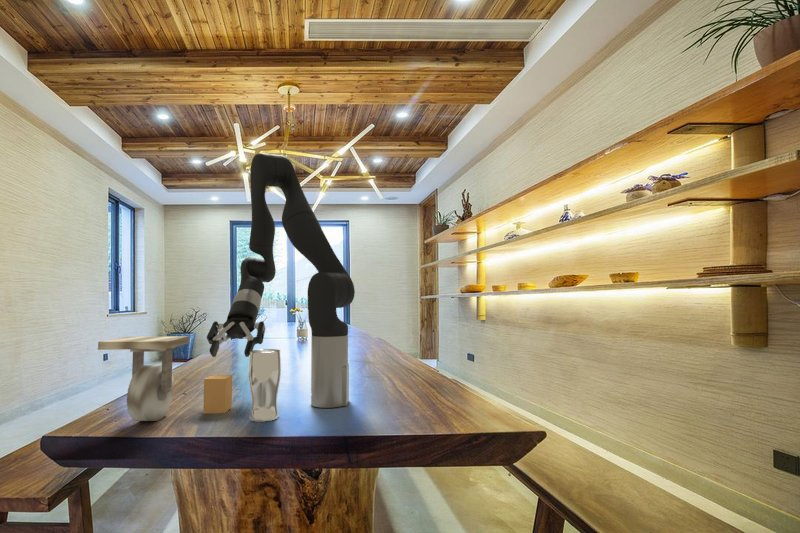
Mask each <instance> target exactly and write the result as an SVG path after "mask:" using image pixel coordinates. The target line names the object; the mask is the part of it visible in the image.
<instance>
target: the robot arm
mask: <svg viewBox="0 0 800 533" xmlns="http://www.w3.org/2000/svg"><path fill="white" fill-rule="evenodd" d="M249 174H250V202H251V204H250V205H251V223H250V224H251V227H250V235H249V236H250V237H249V243H248V248H249V250H250V251H251V252H253V253H254V254H256V255H259V256H261V258H259V257H258V258H256V257H251V256H249V257H245V258H244V259H243V260H242V262H241V264H240V283H239V287H238V289H237V292H236V294H235V296H234V298H233V300H232V303H231V306H230V309H229V312H228V315H227V317H226V321H225V322H224V323H219V322H218V321H216V320H215V321H213V323H212V324H211V327H210V329H209V331H208V333H207V335H206V339H207V342H208V344H210V348H209V353H210V356H211V357H212V358H216V357H217V354H218V352H219V349H220V345H221V344H223V343H224V342H225V343H227V341H229V340H234V339H238V340H243V339H244V338H245V339H246V341H247V342H246V345H245V348H244V351H243V352H244V356H245V357H246V358H248V357H249V358H250V351H253V350H254V347H255V346H256V345H262V344H263V342H264V338H265V337H264V336H265V332H266V326H265V323H264V321H259V323H256V321H257V317H258V314H259V311H260V309H261V303H262V297H263V295H264V291H265V284H264V283H270V282H272V281H273V280H274V278H275V276H276V263H275V260H274V241H275V235H276V234H275V233H276V224H275V220H274V218H273V215H272V214H271V213H272V212H271V211H270V209H269V207H268V204H267V201H266V190H267V189H266V188H267V187H272V188H273V187H274V188H275V187H277V188H279V189H280V190H281V192H282V193H283V195H284V198H285V202H284V203H285V204H284V207H283V209H282V215H281V225H282V227H283V229H284V231H285V233H286V235H287V238H288V240H289V241H290V244H292V246H293V247H294V248H295V249H296V251H298V253H299V254H301V255H302V256H303V257H304V258H305V259H307V261H309V263H311V264H312V266H314V268H315V269H316V271H317V272H315V273H314V274H313V275H312V276H311V278H310V280H309V282H308V286H307V312H308V313H307V315H308V316H307V317H308V318H307V319H308V324H309V327H310V330H311V345H310V346H311V350H310V351H311V359H310V360H311V362H310V364H311V366H310V367H311V368H310V369H311V370H310V371H311V372H310V374H311V375H310V378H311V379H310V382H311V383H310V405H311V406H312V407H314V408H315V407H316V408H323V409H331V408H332V409H333V408H339V407H347V406H348V403H349V402H350V399H349V398H350V386H349V385H350V363H349V325H348V324H347V323H346V322H345V321H343V320H341V319H340V318H339V317H338V312H337V309H338V308H341V309H342V308H346V307H348V306H349V305H351V304H352V303H353V301H354V299H355V292H356V291H355V285H354V282H353V280H352V278H351V277H350V275H349V273H348V271H347V269H345V267H344V266H343V264H342V263H341V261H340V260H339V258H338V257H337V255H336V253H335V251H334V249H333V248H332V246H331V244H330V242H329V240H328V238H327V236H326V234H325V232H324V230H323V228H322V227H321V224H320V222H319V221H318V218H317V216H316V214H315V212H314V211H313V209H312V208H311V205H310V203H309V202H308V200H307V197H306V195H305V193H304V190H303V188H302V186H301V183H300V180H299V178H298V174H297V173H296V171H295V167H294V165H293V163H292V162H291V160H290V159H289V158H288V157H287V156H285V155H281V154H274V153H272V154H271V153H264V152H259V153H256V154H255V155H254V156H253V157H252V160H251V163H250V173H249ZM262 258H263V259H262ZM255 330H256V336H255V337H254V336H253V335H252V333H253V331H255Z"/></svg>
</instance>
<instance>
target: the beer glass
mask: <svg viewBox="0 0 800 533" xmlns="http://www.w3.org/2000/svg"><path fill="white" fill-rule="evenodd" d="M281 359H282V358H281V350H280V349H275V348H266V349H265V348H262V349H253V351H250V355H249V359H248V382H249V388H250V394H251V402H252V403H251V412H250V416H249V420H250V421H251V422H253V421H255V422H254V423H266V422H265V421H269V422H271V421H272V420H273V421H275V419H276V420H278V418H279V410H278V403H277V402H278V393H279V388H280V383H281V376H282V360H281ZM273 421H272V422H273Z"/></svg>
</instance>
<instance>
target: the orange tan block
mask: <svg viewBox="0 0 800 533" xmlns="http://www.w3.org/2000/svg"><path fill="white" fill-rule="evenodd" d="M232 400H233V375H232V374H216V375H215V374H214V375H213V374H211V375H209V376H207V377H205V378H204V379H203V408H202V409H203V412H202V413H203V414H226V413H227V412H229V411H230V410H231V409H233V401H232ZM230 408H231V409H230ZM229 409H230V410H229ZM228 410H229V411H228ZM226 411H227V412H226ZM225 412H226V413H225Z"/></svg>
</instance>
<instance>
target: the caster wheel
mask: <svg viewBox="0 0 800 533" xmlns="http://www.w3.org/2000/svg"><path fill="white" fill-rule="evenodd" d="M188 344H190V336H189V335H186V336H180V335H179V336H177V335H176V336H163V335H162V336H124V337H123V336H122V337H118V338H114V339H108V340H106V339H105V340H102V341H98V342H97V350H99V351H101V350H102V351H103V350H106V351H109V350H110V351H111V350H115V351H116V350H117V351H118V350H129V352H131V353H132V364H131V366H132V368H131V369H132V371H131V373H132V374H131V379H130V381H129V384H128V387H127V393H126V407H127V411H128V414H129V416H130V418H131V419H132V420H133V421H135V422H155V421H156V422H158V421H160V420H162V419H163V418H165V416H166V415H167V413H168V411H169V409H170V408H171V405H172V403H173V398H174V392H175V391H174V390H175V380H174V379H175V378H174V374H173V350H174V349H175V348H177V347H180V346H184V345H188ZM145 352H152V353H153V352H161V364H144V362H145Z"/></svg>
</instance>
